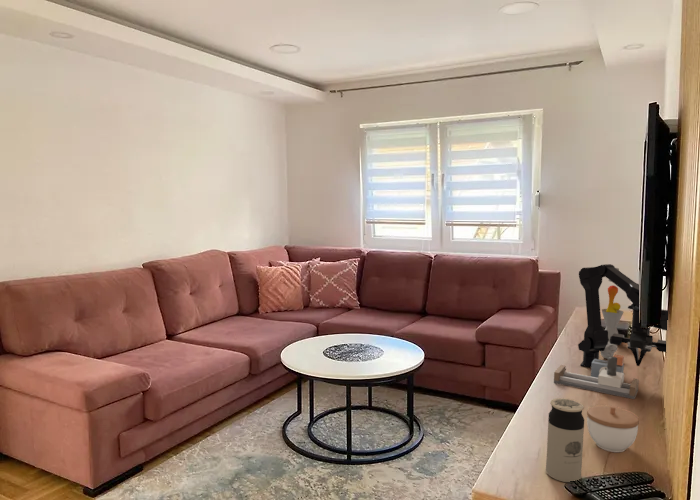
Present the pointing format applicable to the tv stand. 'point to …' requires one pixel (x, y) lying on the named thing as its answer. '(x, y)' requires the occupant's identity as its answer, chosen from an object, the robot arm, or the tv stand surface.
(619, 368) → the box
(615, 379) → the carriage
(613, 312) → the lava lamp
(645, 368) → the tv stand surface
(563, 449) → the travel mug
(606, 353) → the grey faceted rock
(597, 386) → the rail board
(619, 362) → the block
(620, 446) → the lidded bowl
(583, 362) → the robot arm
